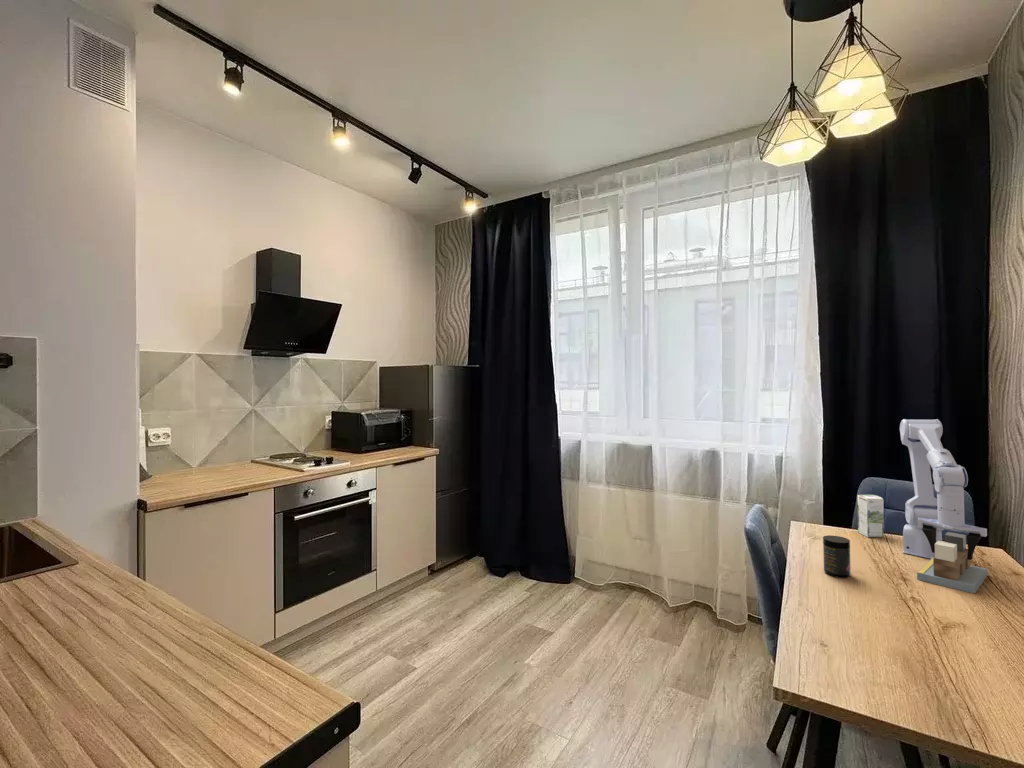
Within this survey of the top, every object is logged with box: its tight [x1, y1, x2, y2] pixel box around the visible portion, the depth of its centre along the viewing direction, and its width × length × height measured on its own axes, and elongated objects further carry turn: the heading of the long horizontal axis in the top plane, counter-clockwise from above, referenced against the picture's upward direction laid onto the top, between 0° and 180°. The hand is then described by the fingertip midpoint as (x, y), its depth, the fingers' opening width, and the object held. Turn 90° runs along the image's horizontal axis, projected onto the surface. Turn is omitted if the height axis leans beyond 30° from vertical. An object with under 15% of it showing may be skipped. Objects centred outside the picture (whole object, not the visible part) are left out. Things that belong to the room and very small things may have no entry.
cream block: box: [935, 540, 957, 562], centre depth 133 cm, size 4×4×4 cm
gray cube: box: [944, 531, 967, 552], centre depth 140 cm, size 4×4×4 cm
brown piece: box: [933, 548, 971, 581], centre depth 137 cm, size 5×16×5 cm, turn 127°
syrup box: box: [857, 494, 885, 538], centre depth 175 cm, size 6×6×14 cm
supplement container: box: [822, 535, 852, 579], centre depth 142 cm, size 7×7×10 cm
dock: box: [916, 557, 988, 594], centre depth 137 cm, size 12×18×2 cm, turn 127°
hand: (951, 555), depth 137 cm, fingers open, 7 cm apart
